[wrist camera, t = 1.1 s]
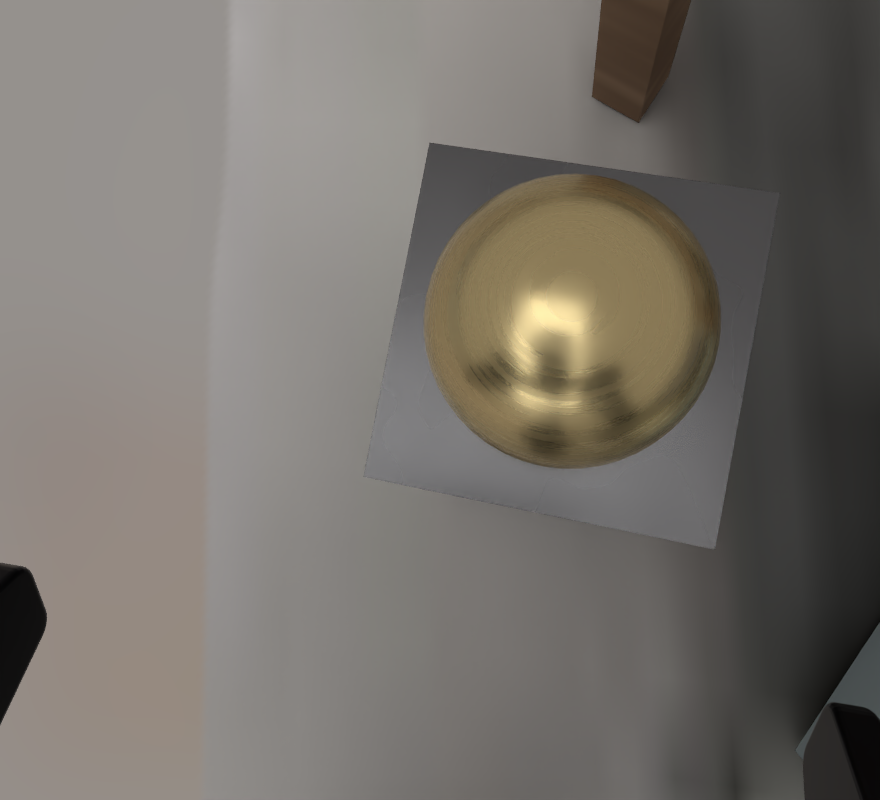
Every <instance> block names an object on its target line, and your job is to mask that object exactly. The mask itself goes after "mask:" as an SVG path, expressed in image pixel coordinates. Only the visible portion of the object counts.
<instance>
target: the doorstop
mask: <svg viewBox="0 0 880 800" xmlns="http://www.w3.org/2000/svg"><path fill="white" fill-rule="evenodd" d="M779 196H780V193H777V192H770V191H763V190H756V189H749V188H742V187H735V186H728V185H721V184H714V183H707V182H700V181H693V180H686V179H679V178H672V177H665V176H658V175H651V174H644V173H637V172H630V171H623V170H616V169H609V168H602V167H595V166H588V165H581V164H574V163H567V162H560V161H553V160H546V159H539V158H533V157H526V156H519V155H512V154H505V153H498V152H491V151H484V150H477V149H470V148H463V147H456V146H449V145H442V144H435V143H429V148H428V153H427V159H426V164H425V169H424V174H423V179H422V184H421V189H420V194H419V199H418V204H417V209H416V214H415V219H414V224H413V229H412V234H411V239H410V244H409V250H408V255H407V260H406V265H405V270H404V275H403V280H402V285H401V290H400V295H399V300H398V305H397V310H396V315H395V320H394V325H393V330H392V335H391V340H390V346H389V351H388V356H387V361H386V366H385V371H384V376H383V381H382V386H381V391H380V396H379V401H378V406H377V411H376V416H375V421H374V426H373V431H372V436H371V442H370V447H369V452H368V457H367V462H366V467H365V472H364V477H367V478H372V479H376V480H381V481H386V482H391V483H396V484H401V485H405V486H410V487H415V488H420V489H425V490H430V491H434V492H439V493H444V494H449V495H454V496H459V497H463V498H468V499H473V500H478V501H483V502H487V503H492V504H497V505H502V506H507V507H512V508H516V509H521V510H526V511H531V512H536V513H541V514H545V515H550V516H555V517H560V518H565V519H570V520H574V521H579V522H584V523H589V524H594V525H598V526H603V527H608V528H613V529H618V530H623V531H627V532H632V533H637V534H642V535H647V536H652V537H656V538H661V539H666V540H671V541H676V542H681V543H685V544H690V545H695V546H700V547H705V548H709V549H714V550H715V546H716V541H717V535H718V530H719V525H720V519H721V514H722V508H723V503H724V497H725V492H726V486H727V481H728V475H729V470H730V464H731V459H732V453H733V448H734V442H735V437H736V432H737V426H738V421H739V415H740V410H741V404H742V399H743V393H744V388H745V382H746V377H747V371H748V366H749V360H750V355H751V349H752V344H753V339H754V333H755V328H756V322H757V317H758V311H759V306H760V300H761V295H762V289H763V284H764V278H765V273H766V267H767V262H768V256H769V251H770V246H771V240H772V235H773V229H774V224H775V218H776V213H777V207H778V202H779Z"/></svg>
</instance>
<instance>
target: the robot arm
mask: <svg viewBox="0 0 880 800" xmlns="http://www.w3.org/2000/svg"><path fill="white" fill-rule="evenodd" d="M46 622H47V613H46V609H45V607H44V604H43V601H42V599H41V596H40V593H39V591H38V588H37V585H36V583H35V580H34V577H33V575H32V573H31V572H30V570H28V569H27V568H26V567H23V566H17V565H11V564H5V563H0V724H1V722H2V720H3V718H4V716H5V714H6V711H7V710H8V708H9V705H10V703H11V701H12V699H13V697H14V695H15V693H16V691H17V689H18V686H19V684H20V682H21V680H22V678H23V676H24V674H25V671H26V670H27V667H28V665H29V663H30V661H31V659H32V657H33V655H34V653H35V650H36V649H37V646H38V644H39V642H40V640H41V638H42V636H43V633H44V631H45V627H46ZM803 779H804V795H805V800H880V719H879V718H878V716H877V715H876V714H875V713H874V712H872V711H871V710H869V709H868V708H865V707H861V706H855V705H849V704H843V703H837V702H831V703H828V704H827V705H826V706H825V707H824V708H823V710H822V712H821V714H820V716H819V719H818V721H817V723H816V725H815V727H814V729H813V732H812V734H811V736H810V738H809V740H808V742H807V745H806V747H805V751H804V757H803Z"/></svg>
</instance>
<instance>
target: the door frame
mask: <svg viewBox="0 0 880 800" xmlns="http://www.w3.org/2000/svg"><path fill="white" fill-rule="evenodd" d="M690 2H691V0H602V3H601V12H600V22H599V32H598V42H597V52H596V62H595V72H594V82H593V92H592V97H594V98H595V99H597V100H599V101H601V102H602V103H604V104H606V105H608V106H610V107H611V108H613V109H615V110H617V111H619V112H620V113H622V114H624V115H626V116H627V117H629V118H631V119H633V120H635V121H636V122H638V123H639V121H640V120H641V118H642V117H643V115H644V114H645V112H646V110H647V109H648V107H649V106H650V104H651V103H652V101H653V100H654V98H655V96H656V95H657V93H658V92H659V90H660V89H661V87H662V85H663V84H664V82H665V81H666V79H667V78H668V76H669V72H670V69H671V66H672V62H673V59H674V56H675V52H676V49H677V46H678V42H679V39H680V36H681V32H682V29H683V26H684V22H685V19H686V16H687V12H688V9H689V6H690Z"/></svg>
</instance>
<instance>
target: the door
mask: <svg viewBox="0 0 880 800" xmlns="http://www.w3.org/2000/svg"><path fill="white" fill-rule="evenodd" d="M831 702H837V703H843V704H849V705H855V706H861V707H865V708H868V709H869V710H871V711H872V712H874V713H875V714H876V715H877V716H878V718H879V719H880V623H879V624H878V626H877V627H876V629H875V630H874V632H873V633H872V635H871V636H870V638H869V639H868V641H867V642H866V644H865V645H864V647H863V648H862V650H861V651H860V653H859V654H858V656H857V657H856V659H855V660H854V662H853V663H852V665H851V666H850V668H849V670H848V671H847V673H846V674H845V676H844V677H843V679H842V680H841V682H840V683H839V685H838V686H837V688H836V689H835V691H834V692H833V694H832V695H831V697H830V698H829V700H828V701H827V703H826V704H825V706H826V705H827V704H828V703H831ZM825 706H824V707H825ZM824 707H823V708H824ZM822 710H823V709H822ZM822 710H821V712H822ZM821 712H820V713H819V715H818V716H817V718H816V719H815V721H814V722H813V724H812V726H811V727H810V729H809V730H808V732H807V733H806V735H805V736H804V738H803V739H802V741H801V742H800V744H799V745H798V747H797V748H796V750H795V751H796V752H797V753H798V755H799V756H800V757H801V758H802V760H803V757H804V751H805V747H806V745H807V742H808V740H809V738H810V736H811V734H812V732H813V729H814V727H815V725H816V723H817V721H818V719H819V716H820V714H821Z"/></svg>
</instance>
